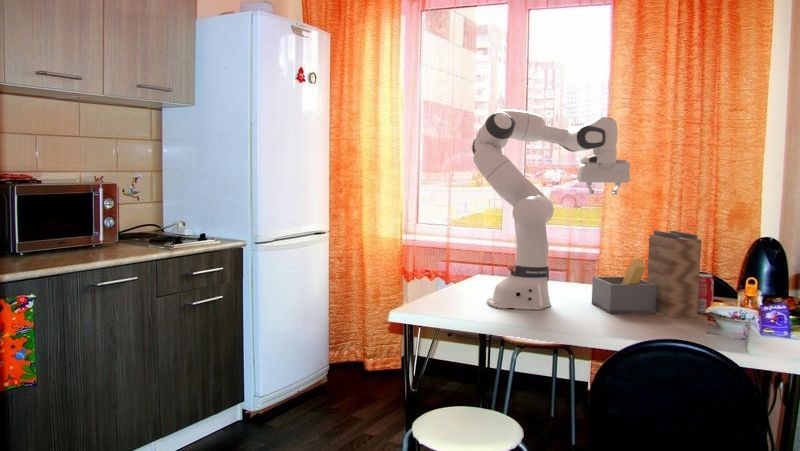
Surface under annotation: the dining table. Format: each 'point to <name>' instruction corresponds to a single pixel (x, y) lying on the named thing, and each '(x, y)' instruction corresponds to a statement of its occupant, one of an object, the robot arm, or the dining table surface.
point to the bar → (634, 272)
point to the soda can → (705, 292)
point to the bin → (623, 296)
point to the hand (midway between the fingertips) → (602, 194)
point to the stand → (675, 272)
